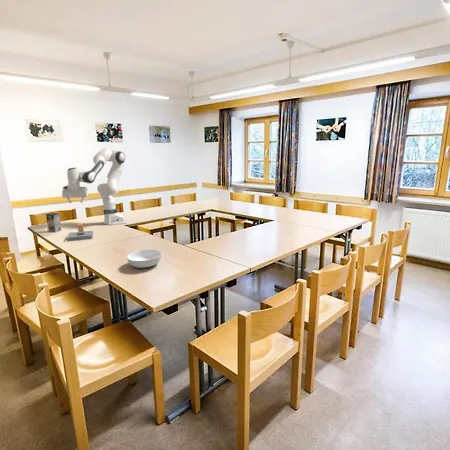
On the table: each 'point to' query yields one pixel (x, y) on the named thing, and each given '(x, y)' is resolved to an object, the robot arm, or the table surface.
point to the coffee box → (53, 222)
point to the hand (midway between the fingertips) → (76, 202)
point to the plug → (80, 227)
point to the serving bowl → (144, 258)
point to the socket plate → (80, 235)
